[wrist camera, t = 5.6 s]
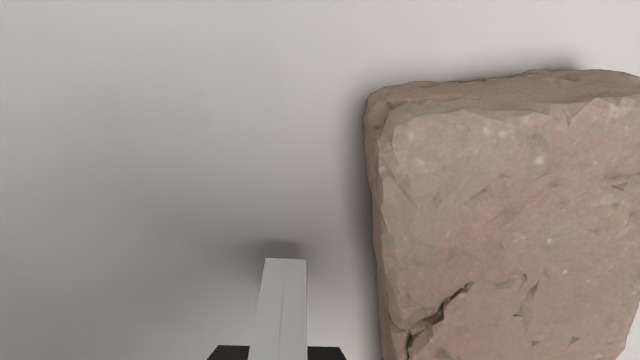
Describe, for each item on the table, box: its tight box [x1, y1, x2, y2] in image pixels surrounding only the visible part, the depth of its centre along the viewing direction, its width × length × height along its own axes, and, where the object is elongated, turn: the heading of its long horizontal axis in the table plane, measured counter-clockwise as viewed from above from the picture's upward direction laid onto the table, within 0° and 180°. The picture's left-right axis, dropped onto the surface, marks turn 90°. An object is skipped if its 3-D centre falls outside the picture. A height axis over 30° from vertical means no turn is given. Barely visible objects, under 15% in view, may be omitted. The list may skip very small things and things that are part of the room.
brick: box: [363, 69, 640, 360], centre depth 13 cm, size 17×8×5 cm, turn 7°
